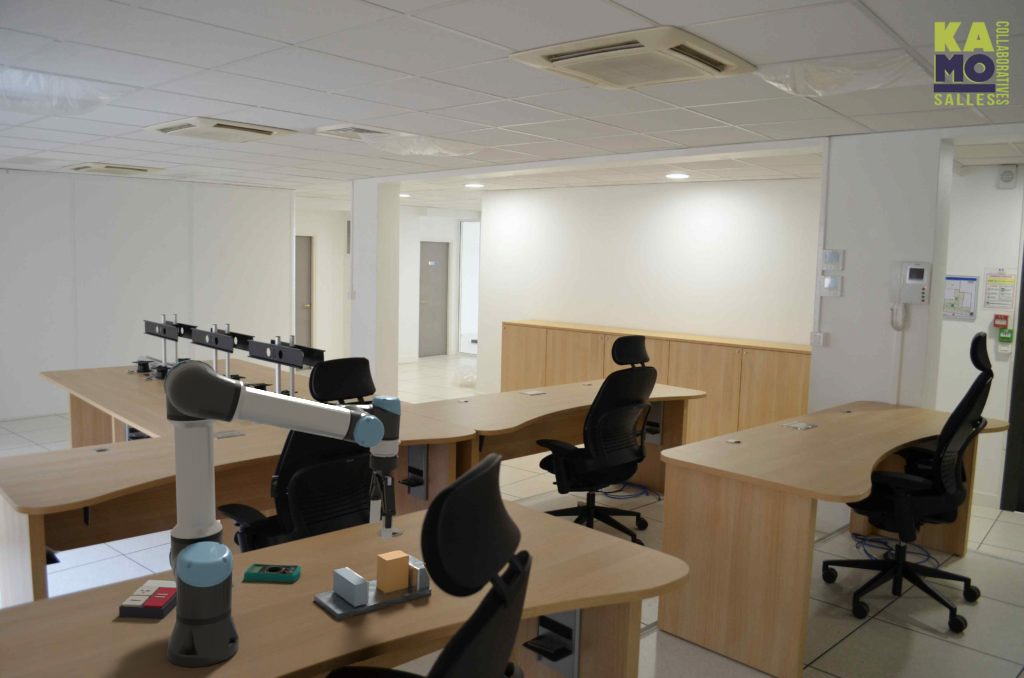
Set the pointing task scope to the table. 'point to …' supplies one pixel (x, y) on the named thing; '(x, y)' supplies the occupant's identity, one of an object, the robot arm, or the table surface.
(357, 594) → the block
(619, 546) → the table surface
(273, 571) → the digital multimeter
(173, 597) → the calculator
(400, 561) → the light orange block
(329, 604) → the vise base
